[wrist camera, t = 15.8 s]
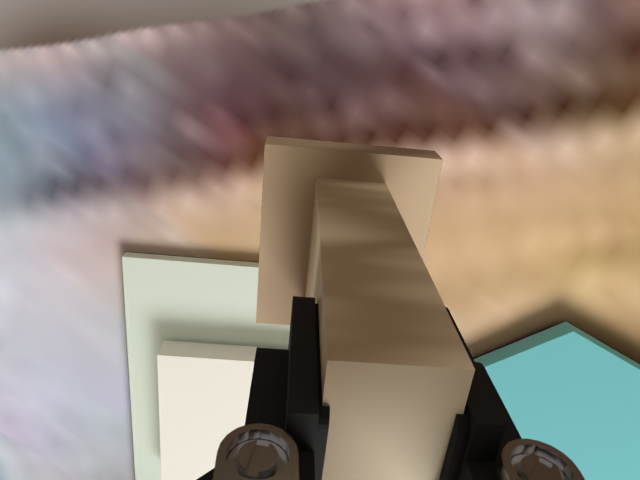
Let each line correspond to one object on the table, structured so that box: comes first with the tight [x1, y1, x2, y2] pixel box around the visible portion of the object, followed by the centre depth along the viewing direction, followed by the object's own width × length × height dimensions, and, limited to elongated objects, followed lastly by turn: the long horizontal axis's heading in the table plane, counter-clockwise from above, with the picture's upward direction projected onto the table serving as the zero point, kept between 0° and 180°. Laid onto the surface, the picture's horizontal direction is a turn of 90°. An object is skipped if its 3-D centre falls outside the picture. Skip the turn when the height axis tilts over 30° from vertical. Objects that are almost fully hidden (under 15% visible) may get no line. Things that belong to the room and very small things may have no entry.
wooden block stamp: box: [256, 136, 475, 480], centre depth 14 cm, size 6×7×11 cm
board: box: [122, 252, 290, 480], centre depth 31 cm, size 15×18×1 cm
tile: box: [157, 340, 282, 480], centre depth 30 cm, size 2×10×9 cm
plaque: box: [474, 321, 640, 480], centre depth 33 cm, size 18×2×20 cm
